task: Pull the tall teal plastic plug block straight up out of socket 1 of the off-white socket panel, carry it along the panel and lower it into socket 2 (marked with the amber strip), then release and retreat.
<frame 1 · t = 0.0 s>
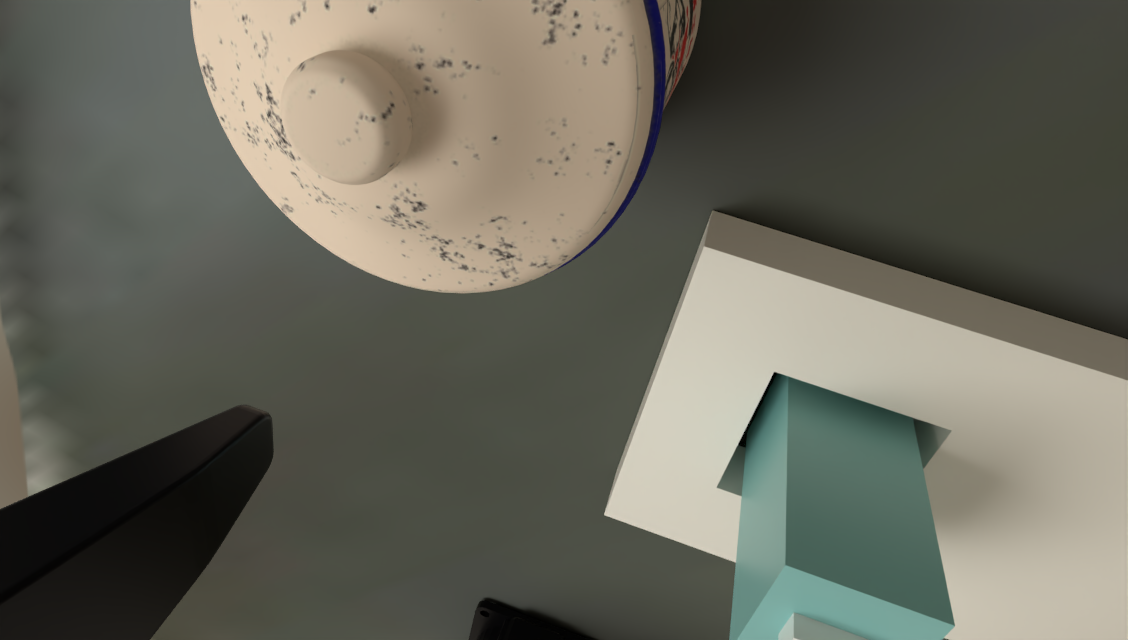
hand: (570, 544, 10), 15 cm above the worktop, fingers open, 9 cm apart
plug: (822, 411, 25), resting in panel
panel: (1024, 479, 24), on the worktop
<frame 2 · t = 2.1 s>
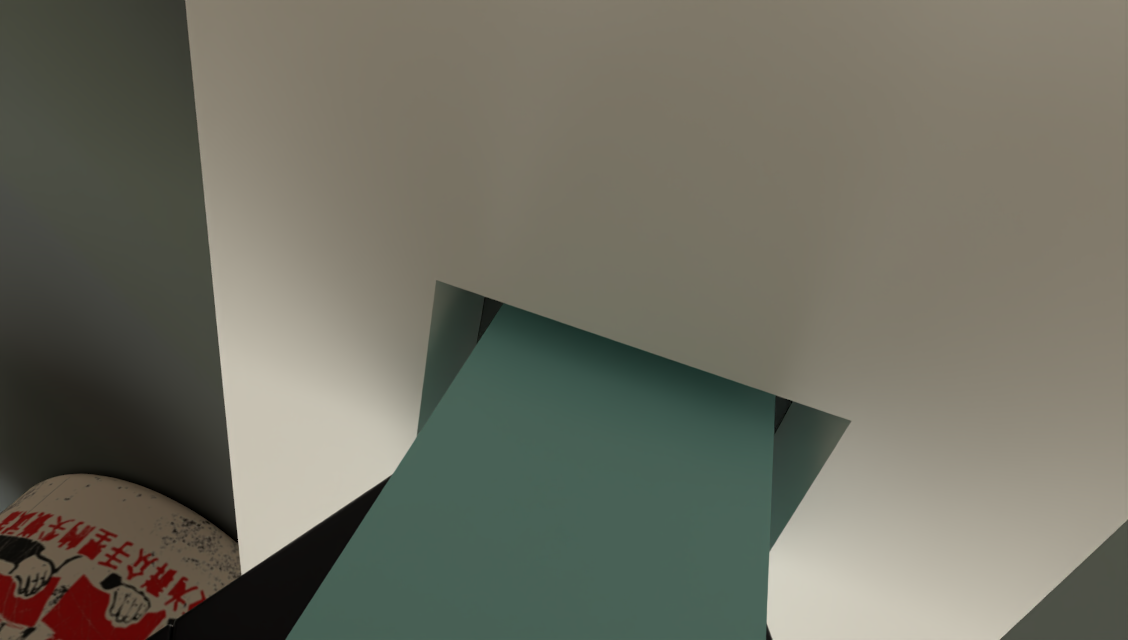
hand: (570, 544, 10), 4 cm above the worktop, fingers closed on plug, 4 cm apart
plug: (622, 384, 12), resting in panel, touching gripper
teacup with lid: (126, 547, 21), on the worktop
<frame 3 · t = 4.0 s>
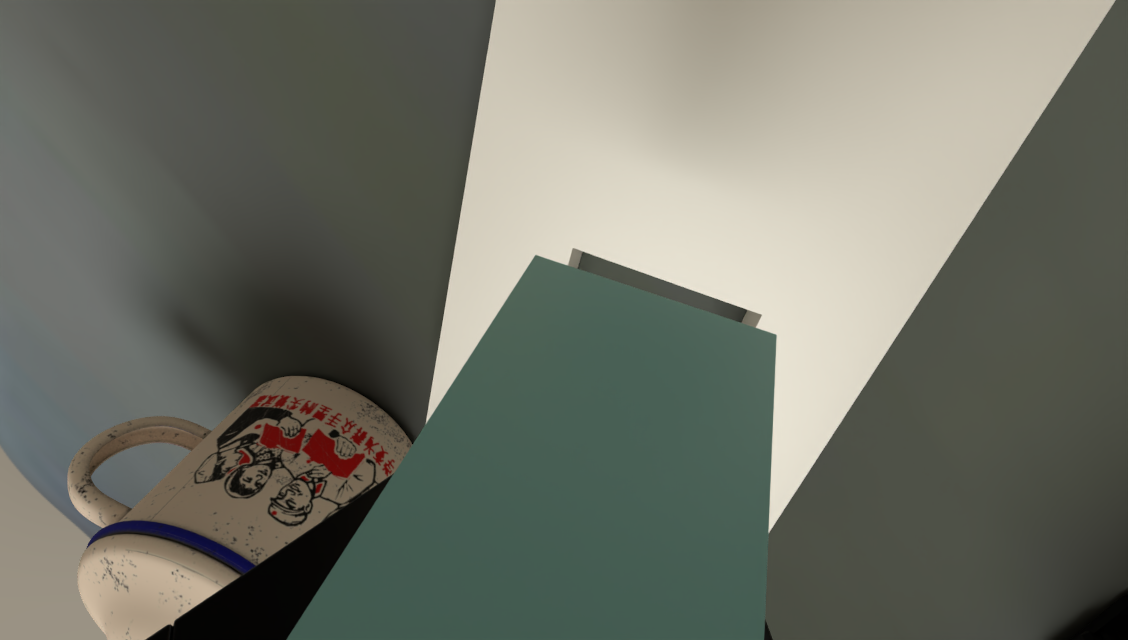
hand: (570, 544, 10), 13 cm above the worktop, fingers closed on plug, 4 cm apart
plug: (621, 386, 12), point 10 cm above the worktop, touching gripper
panel: (731, 102, 19), on the worktop
teacup with lid: (309, 432, 31), on the worktop
when the fingers open (4 cm above the worktop, at t = 6.1 s): plug stays where it is, resting in panel.
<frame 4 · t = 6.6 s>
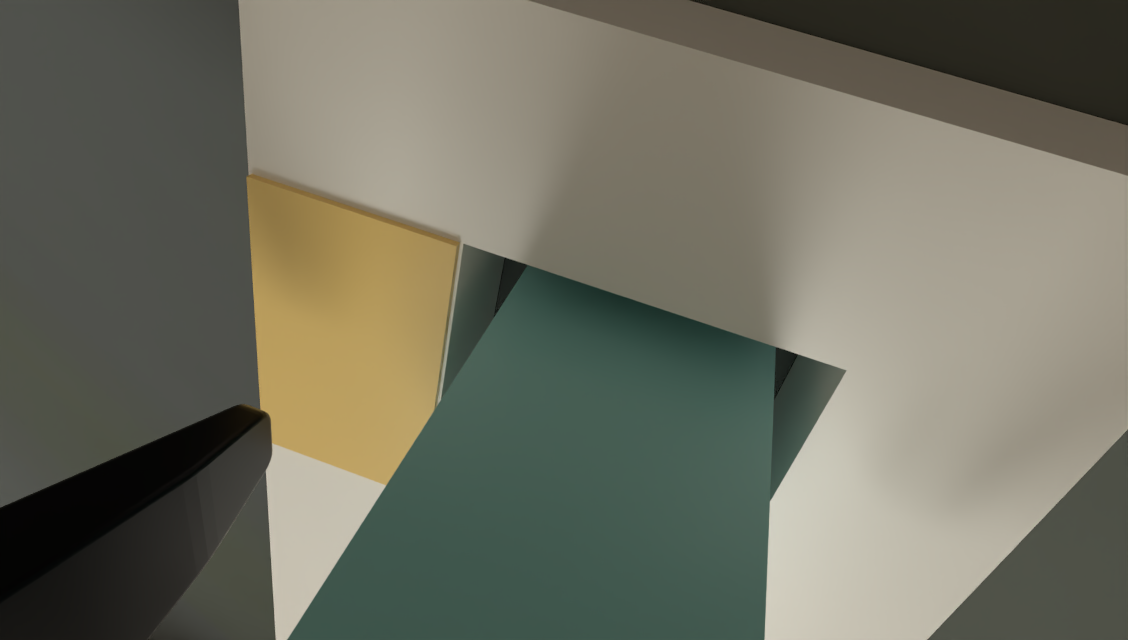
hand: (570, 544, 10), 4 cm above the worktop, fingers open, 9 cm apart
plug: (632, 353, 13), resting in panel
panel: (556, 571, 17), on the worktop
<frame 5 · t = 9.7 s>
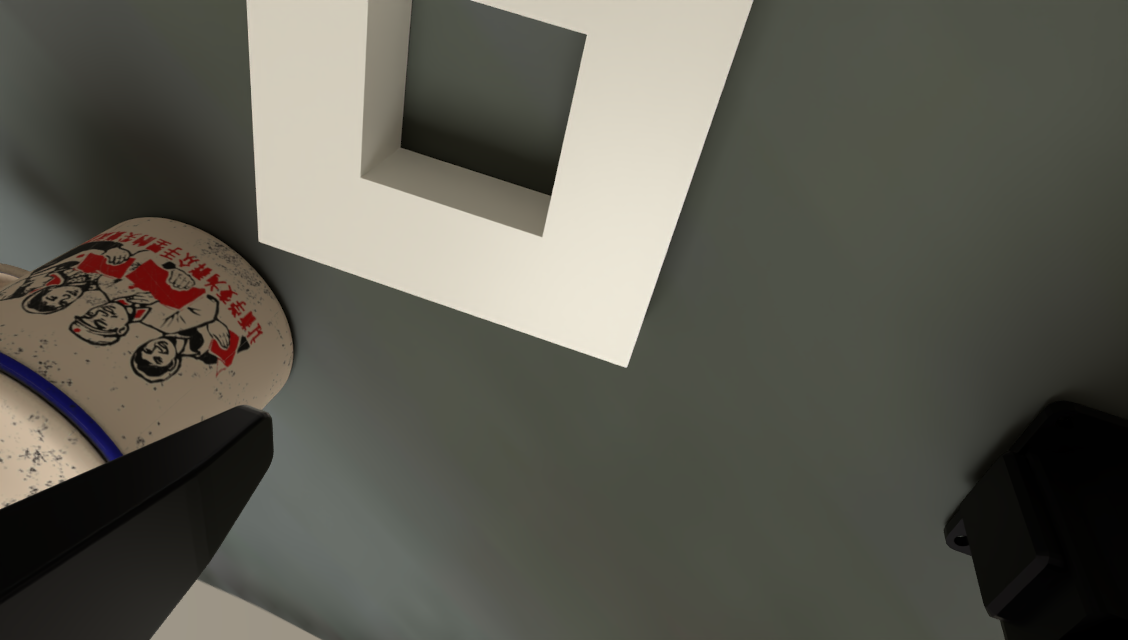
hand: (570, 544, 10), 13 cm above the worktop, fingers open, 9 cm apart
teacup with lid: (170, 292, 28), on the worktop
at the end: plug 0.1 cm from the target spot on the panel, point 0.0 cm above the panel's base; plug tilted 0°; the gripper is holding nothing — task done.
